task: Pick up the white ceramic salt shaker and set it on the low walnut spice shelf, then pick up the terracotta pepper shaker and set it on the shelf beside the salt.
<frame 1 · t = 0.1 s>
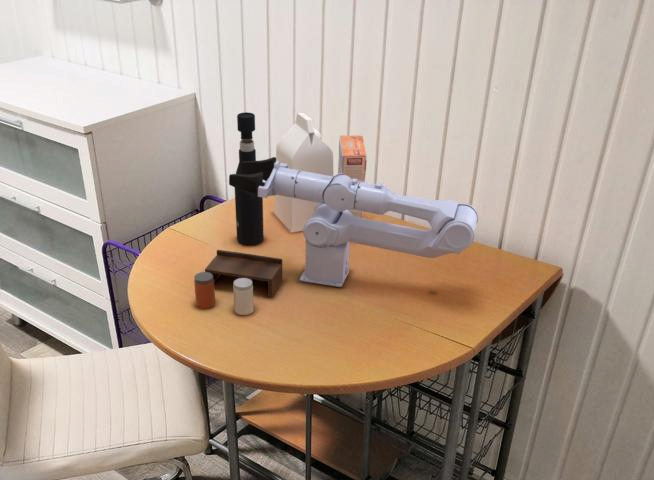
hand: (235, 173, 156), 22 cm above the table, tool horizontal, fingers open, 7 cm apart
cracker box: (348, 227, 184), on the table
pepper shaker: (205, 303, 154), on the table
black water bottle: (250, 240, 178), on the table
salt shaker: (244, 310, 152), on the table
shelf: (244, 284, 161), on the table
milk: (303, 220, 188), on the table
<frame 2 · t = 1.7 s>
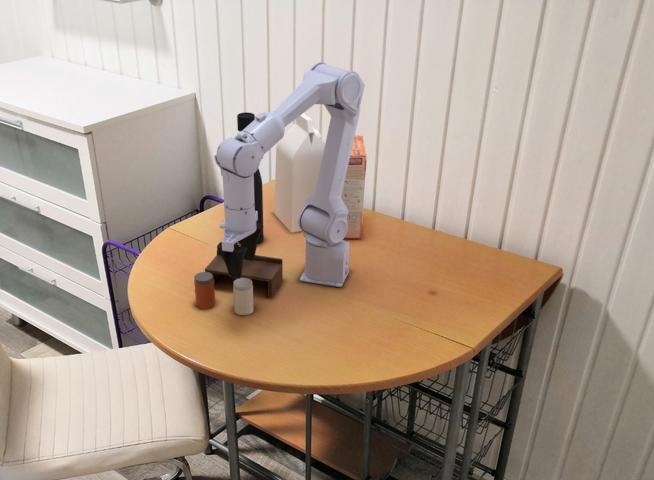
hand: (242, 268, 146), 10 cm above the table, tool pointing down, fingers open, 7 cm apart
nothing on the table moved.
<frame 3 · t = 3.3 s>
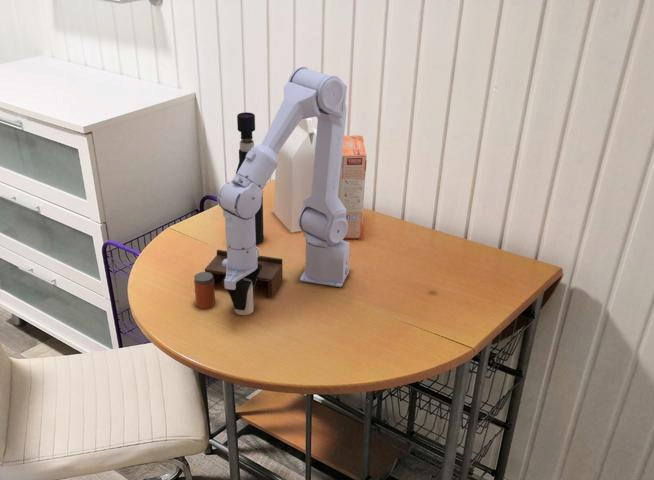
hand: (243, 303, 151), 2 cm above the table, tool pointing down, fingers closed on salt shaker, 4 cm apart
salt shaker: (244, 310, 152), on the table, touching gripper
everything else where it was.
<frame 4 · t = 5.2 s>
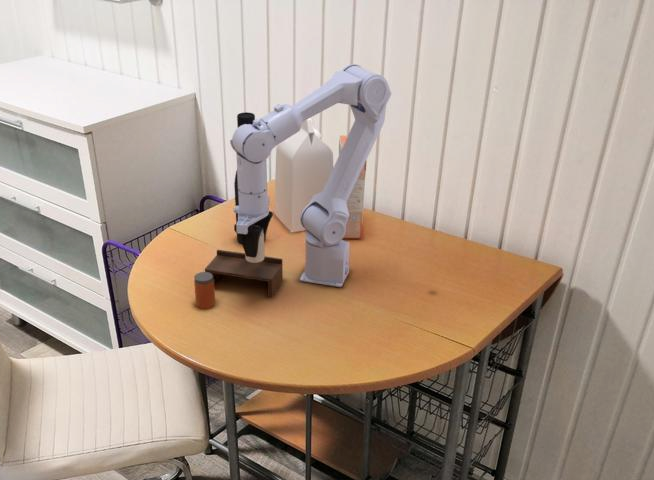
hand: (254, 251, 152), 10 cm above the table, tool pointing down, fingers closed on salt shaker, 4 cm apart
salt shaker: (254, 258, 153), point 8 cm above the table, touching gripper
everything else where it was.
when the fingers open (6 cm above the table, at t = 7.0 s): salt shaker stays where it is, resting on shelf.
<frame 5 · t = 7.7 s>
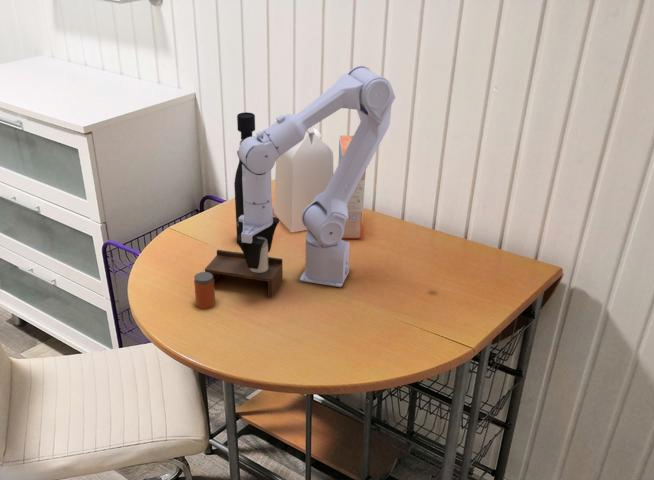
hand: (259, 259, 156), 7 cm above the table, tool pointing down, fingers open, 7 cm apart
salt shaker: (259, 268, 157), point 4 cm above the table, touching shelf
everything else where it was.
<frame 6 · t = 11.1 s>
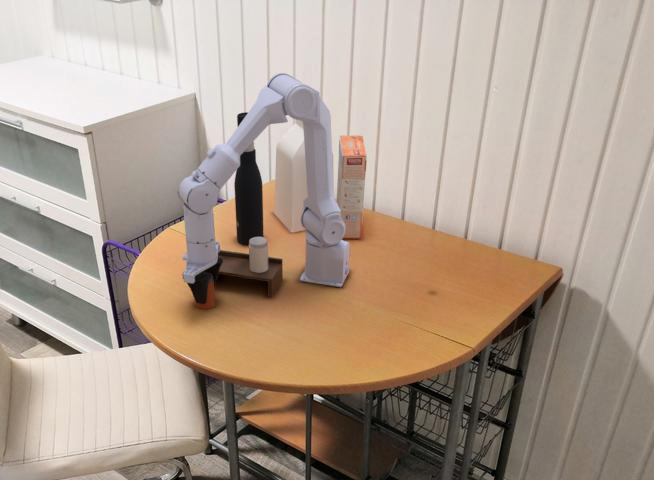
hand: (205, 297, 153), 2 cm above the table, tool pointing down, fingers closed on pepper shaker, 4 cm apart
pepper shaker: (205, 303, 154), on the table, touching gripper
everything else where it was.
when the fingers open (6 cm above the table, at t = 14.7 s): pepper shaker stays where it is, resting on shelf.
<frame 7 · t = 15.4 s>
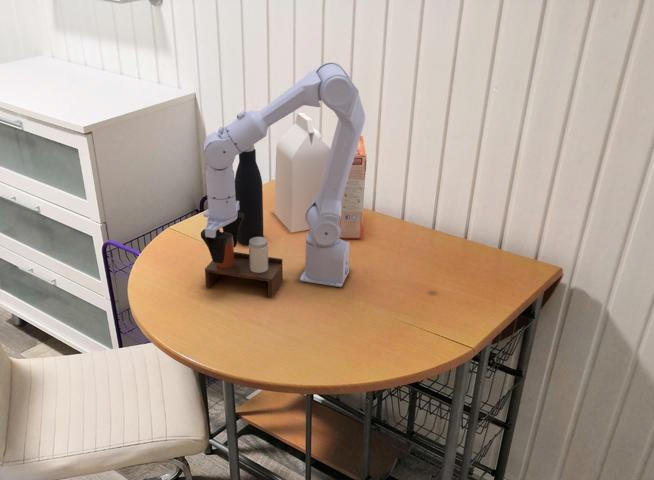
hand: (224, 254, 158), 7 cm above the table, tool pointing down, fingers open, 7 cm apart
pepper shaker: (225, 263, 159), point 4 cm above the table, touching shelf
everything else where it was.
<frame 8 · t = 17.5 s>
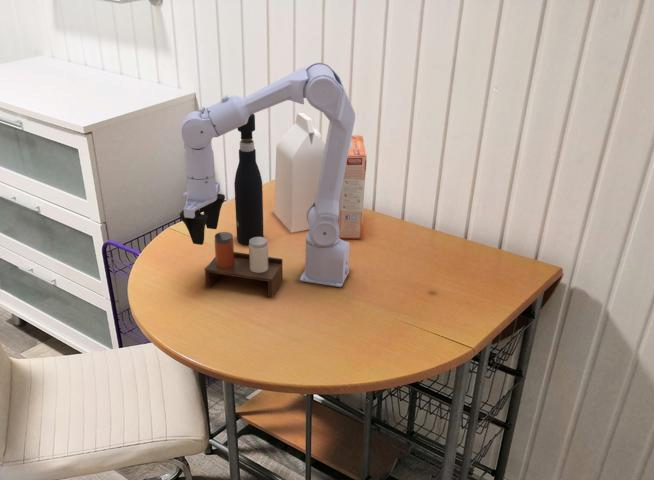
hand: (205, 235, 157), 10 cm above the table, tool pointing down, fingers open, 7 cm apart
nothing on the table moved.
at the end: salt shaker inside the target area on the shelf (3.5 cm from its centre), point 4.5 cm above the shelf's base; pepper shaker inside the target area on the shelf (4.2 cm from its centre), point 4.5 cm above the shelf's base; salt shaker tilted 0° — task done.
